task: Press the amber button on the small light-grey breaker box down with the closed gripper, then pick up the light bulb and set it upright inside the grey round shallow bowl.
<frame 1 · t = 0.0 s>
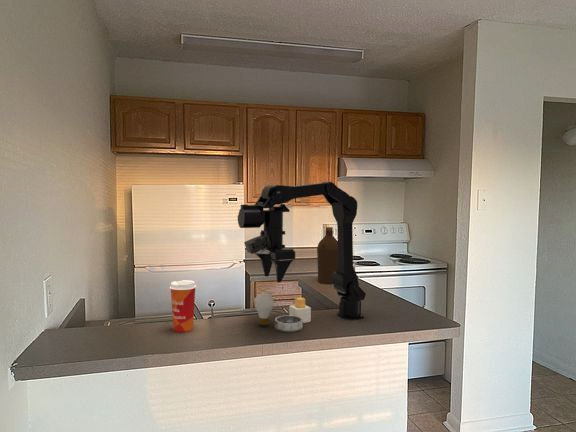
hand: (272, 279, 127), 15 cm above the counter, tool pointing down, fingers open, 9 cm apart
light bulb: (263, 326, 130), on the counter
breaker box: (299, 320, 135), on the counter
breaker button: (300, 303, 135), point 5 cm above the counter, slide at 0.0 cm
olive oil: (328, 282, 193), on the counter
paper cup: (183, 330, 125), on the counter
grey round shallow bowl: (288, 327, 128), on the counter
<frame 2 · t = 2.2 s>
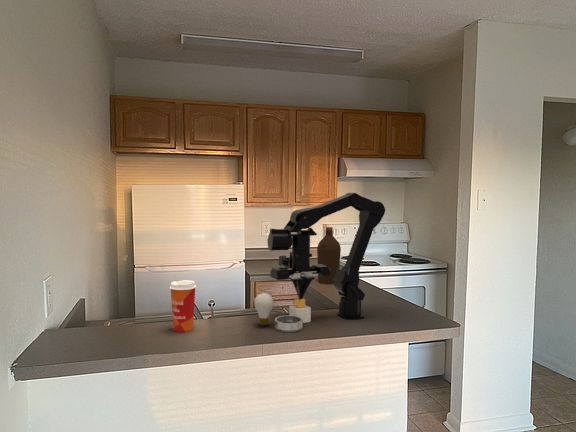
hand: (300, 298, 135), 7 cm above the counter, tool pointing down, fingers closed, pressing on breaker button
breaker button: (300, 303, 135), point 5 cm above the counter, slide at 0.0 cm, touching gripper
everything else where it was.
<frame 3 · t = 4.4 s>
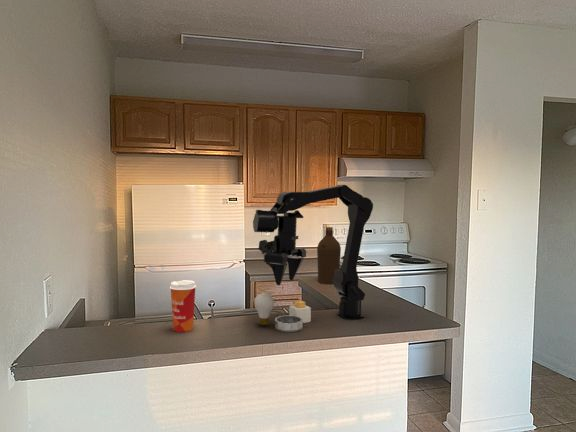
hand: (285, 282, 132), 13 cm above the counter, tool pointing down, fingers open, 9 cm apart
breaker button: (300, 306, 135), point 4 cm above the counter, slide at 1.0 cm
everything else where it was.
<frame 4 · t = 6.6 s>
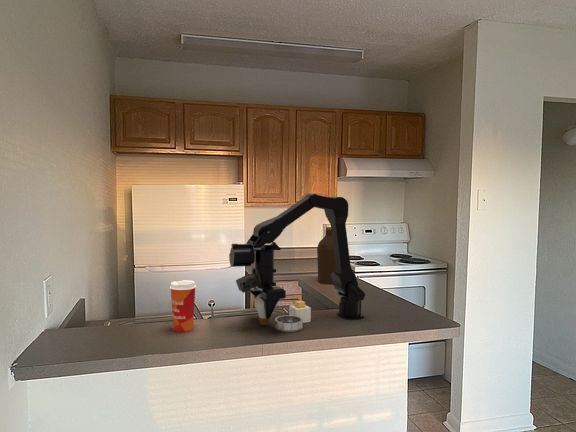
hand: (263, 315, 129), 3 cm above the counter, tool pointing down, fingers closed on light bulb, 5 cm apart
light bulb: (263, 326, 130), on the counter, touching gripper
everything else where it was.
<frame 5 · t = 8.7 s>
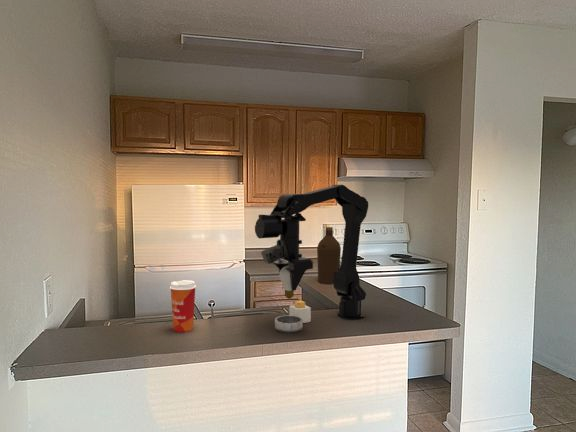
hand: (289, 288, 127), 12 cm above the counter, tool pointing down, fingers closed on light bulb, 5 cm apart
light bulb: (289, 299, 127), point 9 cm above the counter, touching gripper
everything else where it was.
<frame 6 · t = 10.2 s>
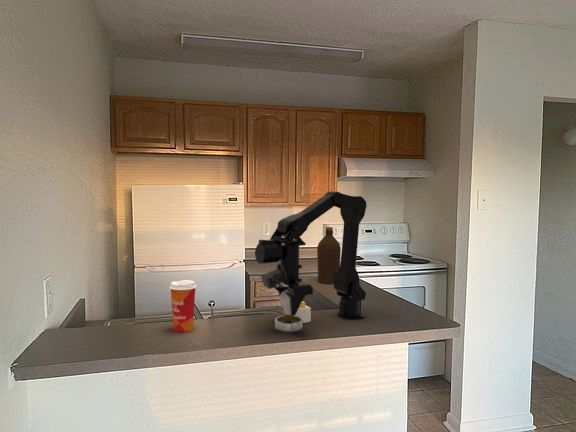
hand: (289, 312, 127), 5 cm above the counter, tool pointing down, fingers closed on light bulb, 5 cm apart
light bulb: (288, 323, 128), point 2 cm above the counter, touching gripper
everything else where it was.
when the fingers open (5 cm above the counter, at t = 10.7 s): light bulb drops 1 cm, resting on grey round shallow bowl.
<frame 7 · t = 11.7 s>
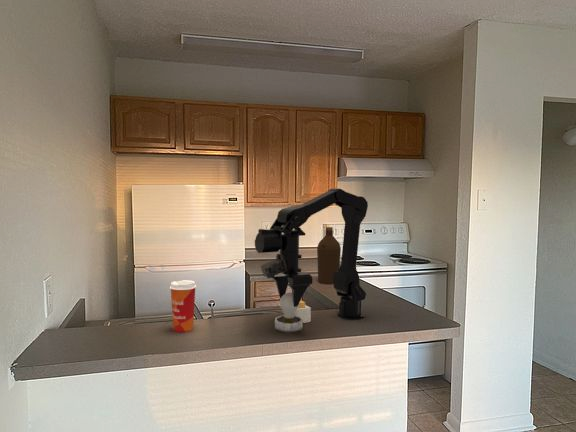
hand: (288, 302, 127), 8 cm above the counter, tool pointing down, fingers open, 9 cm apart
light bulb: (289, 326, 128), resting on grey round shallow bowl
everything else where it was.
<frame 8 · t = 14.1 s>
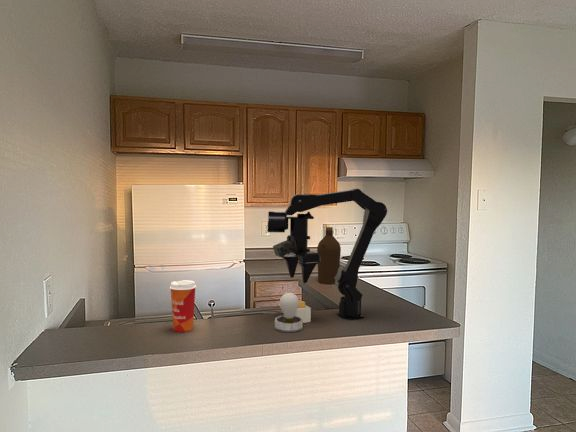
hand: (298, 280, 139), 12 cm above the counter, tool pointing down, fingers open, 9 cm apart
nothing on the counter moved.
at the end: breaker button slide at 1.0 cm; light bulb 0.2 cm from the grey round shallow bowl (horizontally); light bulb resting on grey round shallow bowl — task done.
